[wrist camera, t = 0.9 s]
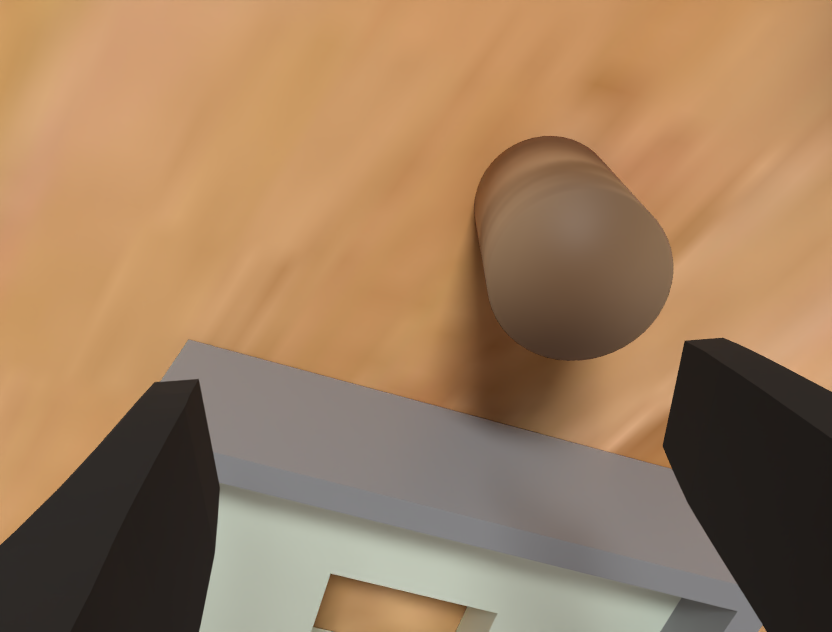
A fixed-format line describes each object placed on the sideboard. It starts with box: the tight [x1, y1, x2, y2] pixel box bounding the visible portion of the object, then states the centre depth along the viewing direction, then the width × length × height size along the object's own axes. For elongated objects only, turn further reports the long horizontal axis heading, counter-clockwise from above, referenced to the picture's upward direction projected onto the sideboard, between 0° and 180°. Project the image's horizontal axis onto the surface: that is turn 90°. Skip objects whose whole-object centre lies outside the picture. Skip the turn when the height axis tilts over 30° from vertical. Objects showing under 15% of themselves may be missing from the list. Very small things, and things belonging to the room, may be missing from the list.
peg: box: [474, 136, 673, 361], centre depth 20 cm, size 4×4×6 cm
